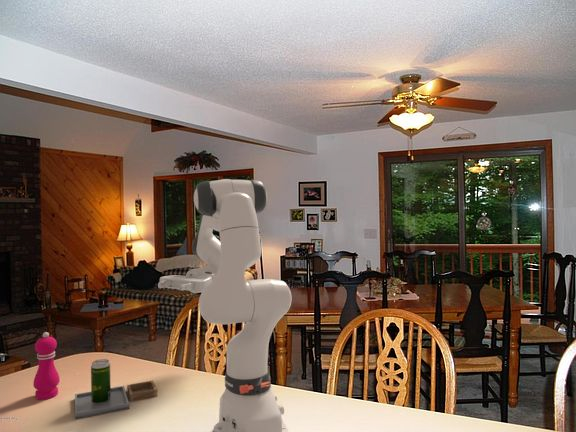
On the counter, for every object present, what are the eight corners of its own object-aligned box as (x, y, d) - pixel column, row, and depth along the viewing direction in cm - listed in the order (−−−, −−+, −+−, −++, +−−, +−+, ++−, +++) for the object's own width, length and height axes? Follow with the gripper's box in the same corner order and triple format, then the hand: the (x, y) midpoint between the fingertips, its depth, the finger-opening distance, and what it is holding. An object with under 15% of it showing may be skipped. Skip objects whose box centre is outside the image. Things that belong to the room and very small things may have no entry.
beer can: (111, 396, 136) (111, 358, 136) (109, 404, 131) (109, 364, 130) (92, 398, 134) (92, 359, 134) (90, 406, 129) (89, 365, 129)
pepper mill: (48, 401, 134) (47, 336, 134) (28, 399, 136) (26, 334, 135) (65, 391, 141) (63, 329, 141) (45, 389, 143) (44, 328, 142)
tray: (129, 408, 129) (128, 403, 129) (75, 419, 123) (75, 413, 123) (123, 390, 142) (123, 385, 142) (74, 399, 136) (74, 394, 136)
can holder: (157, 395, 138) (157, 389, 138) (130, 401, 134) (130, 394, 134) (153, 386, 145) (152, 380, 145) (127, 391, 141) (127, 384, 141)
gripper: (175, 270, 166) (147, 275, 154) (218, 273, 156) (192, 279, 144) (175, 286, 166) (147, 293, 154) (219, 291, 156) (192, 299, 144)
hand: (169, 286), depth 149 cm, fingers open, 8 cm apart
